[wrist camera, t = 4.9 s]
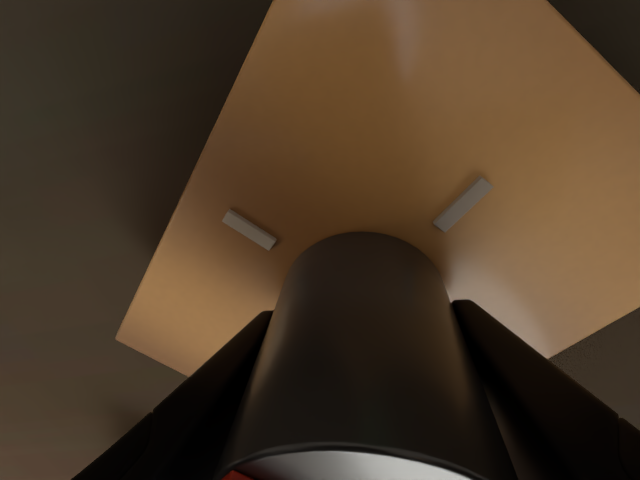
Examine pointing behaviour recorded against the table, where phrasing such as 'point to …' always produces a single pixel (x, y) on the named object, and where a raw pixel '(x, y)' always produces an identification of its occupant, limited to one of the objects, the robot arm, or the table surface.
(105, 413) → the table surface
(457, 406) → the volume knob
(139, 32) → the table surface
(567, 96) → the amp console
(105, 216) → the table surface
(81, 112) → the table surface
